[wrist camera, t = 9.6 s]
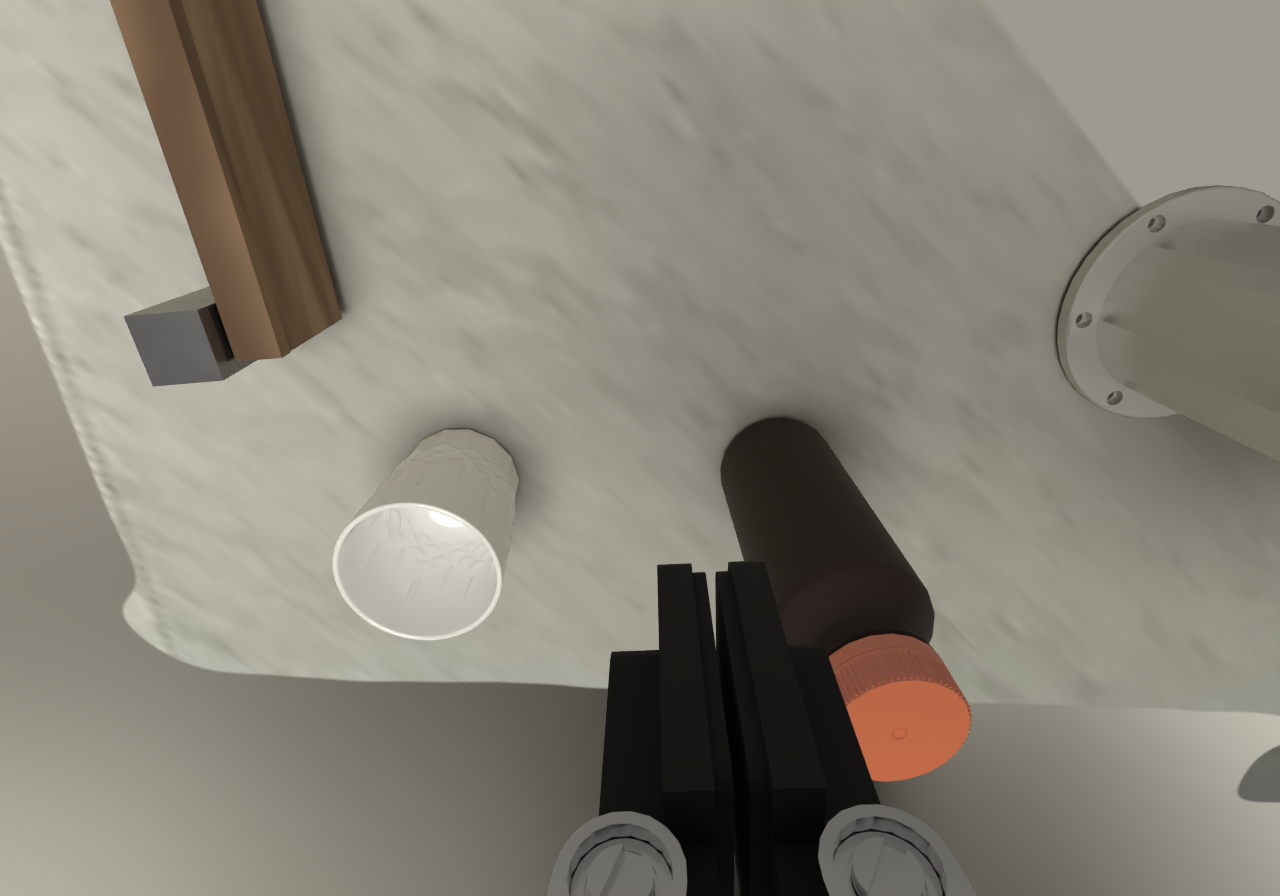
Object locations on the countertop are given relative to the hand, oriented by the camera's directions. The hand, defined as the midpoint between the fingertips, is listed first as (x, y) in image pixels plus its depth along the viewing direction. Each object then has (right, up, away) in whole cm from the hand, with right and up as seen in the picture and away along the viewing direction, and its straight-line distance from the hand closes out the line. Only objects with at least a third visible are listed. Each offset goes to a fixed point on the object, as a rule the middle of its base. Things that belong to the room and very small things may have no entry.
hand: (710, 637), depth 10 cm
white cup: (-12, +1, +30) cm, 32 cm away
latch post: (-21, +11, +25) cm, 34 cm away
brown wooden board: (-18, +17, +21) cm, 33 cm away
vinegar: (+7, +2, +30) cm, 31 cm away
